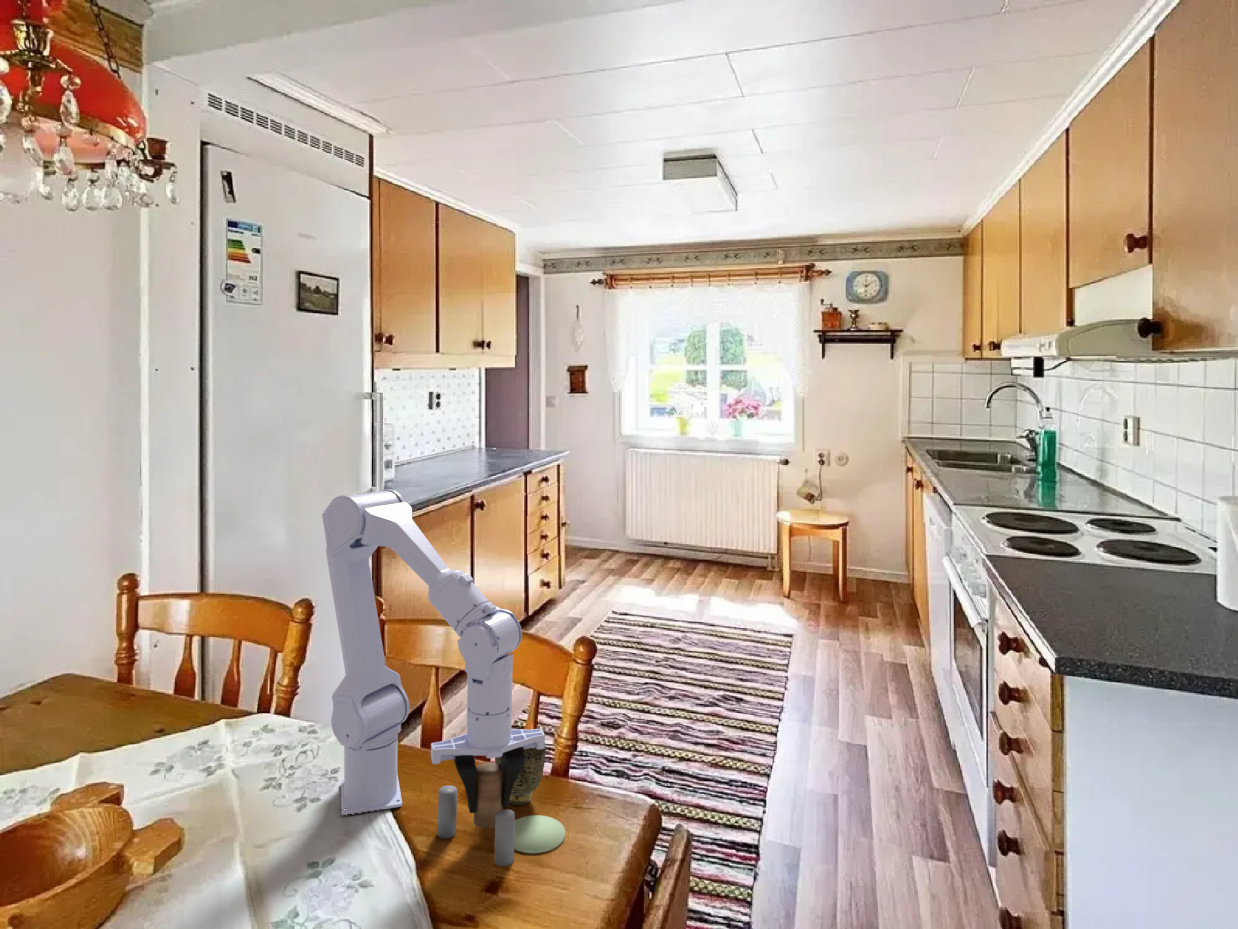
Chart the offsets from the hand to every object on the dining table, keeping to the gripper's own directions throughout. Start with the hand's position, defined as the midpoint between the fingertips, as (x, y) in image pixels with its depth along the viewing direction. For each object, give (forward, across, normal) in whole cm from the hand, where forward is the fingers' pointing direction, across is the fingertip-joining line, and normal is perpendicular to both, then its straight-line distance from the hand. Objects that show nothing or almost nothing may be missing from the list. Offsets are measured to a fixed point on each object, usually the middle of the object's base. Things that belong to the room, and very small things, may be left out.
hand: (487, 806), depth 97 cm
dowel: (+2, 0, 0) cm, 2 cm away
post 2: (+4, +1, -5) cm, 7 cm away
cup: (+5, +6, +8) cm, 11 cm away
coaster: (+4, +6, -1) cm, 8 cm away
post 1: (+4, -5, +3) cm, 7 cm away
